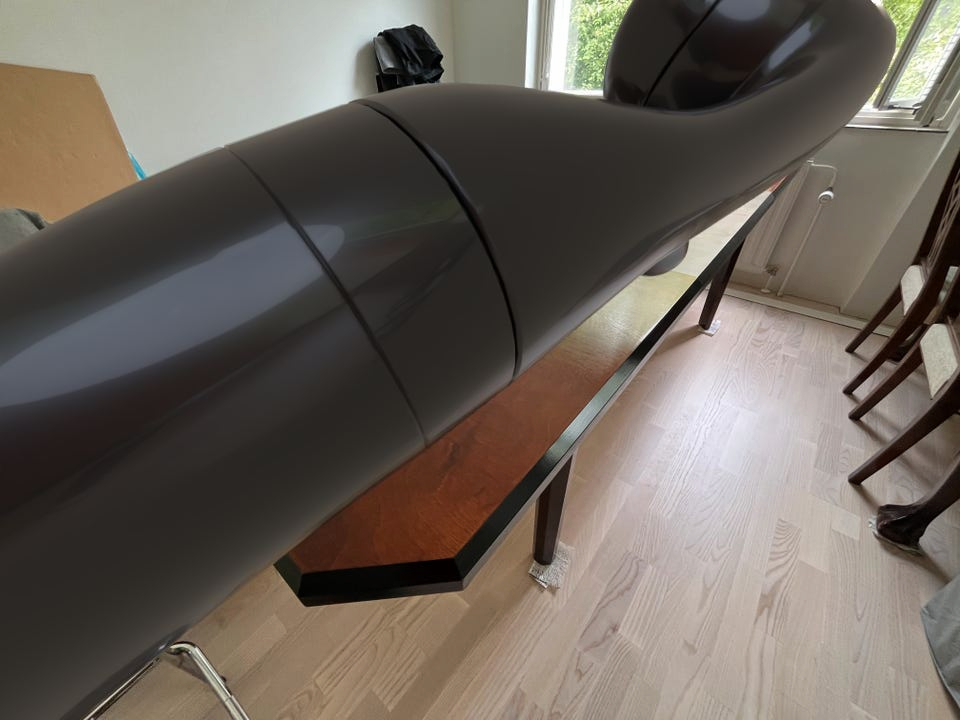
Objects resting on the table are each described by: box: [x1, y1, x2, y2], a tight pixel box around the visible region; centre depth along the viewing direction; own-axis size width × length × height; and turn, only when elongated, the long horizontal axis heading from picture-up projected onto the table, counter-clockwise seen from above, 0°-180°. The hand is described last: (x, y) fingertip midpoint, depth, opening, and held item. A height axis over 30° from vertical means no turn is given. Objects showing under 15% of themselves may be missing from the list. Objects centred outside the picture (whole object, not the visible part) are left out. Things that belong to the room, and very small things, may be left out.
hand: (390, 266), depth 44 cm, fingers closed on ink box, 5 cm apart
